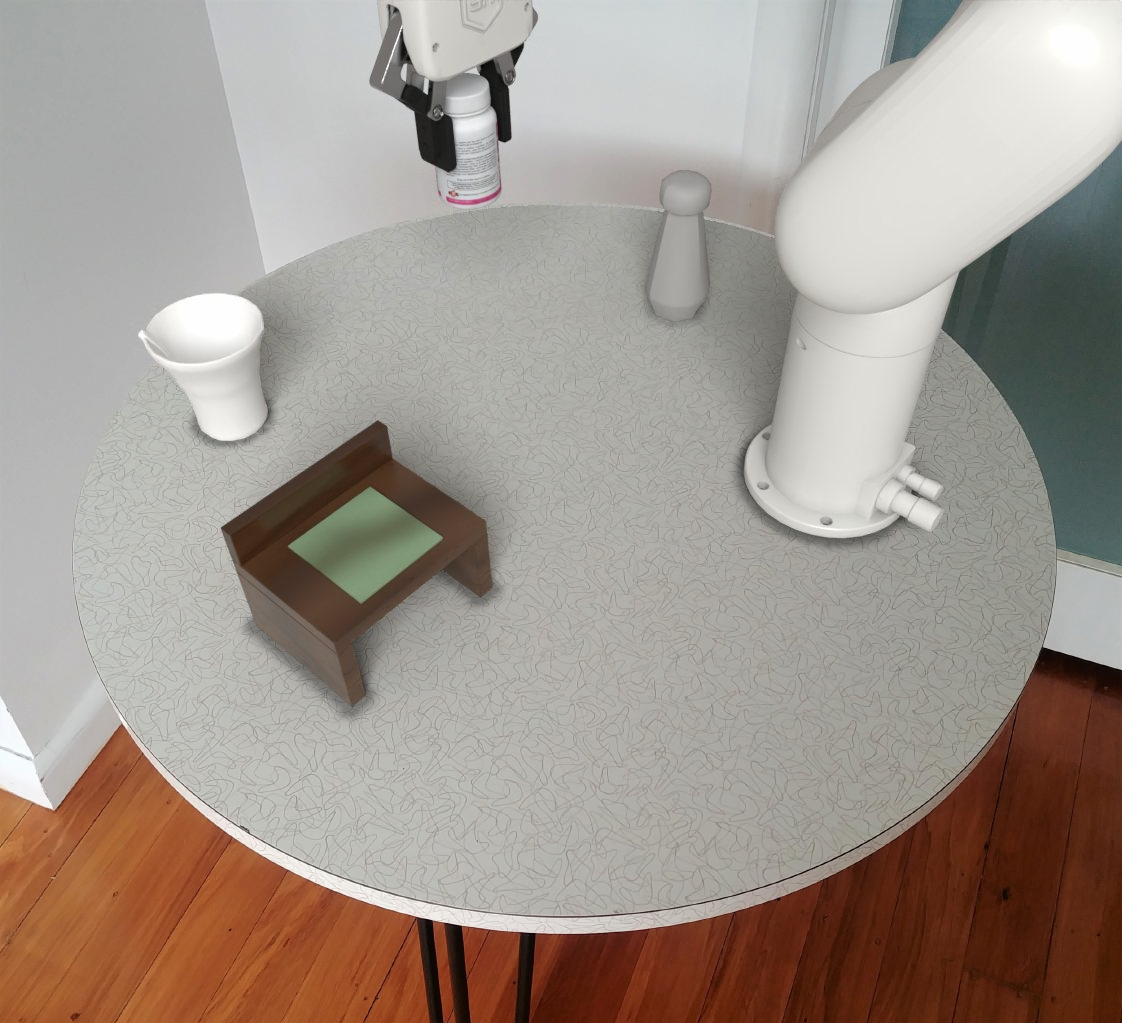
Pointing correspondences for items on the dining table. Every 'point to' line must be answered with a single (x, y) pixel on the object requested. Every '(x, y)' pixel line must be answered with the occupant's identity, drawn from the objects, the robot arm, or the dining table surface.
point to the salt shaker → (680, 248)
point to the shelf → (349, 553)
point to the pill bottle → (471, 145)
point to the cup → (213, 360)
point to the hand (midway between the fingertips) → (466, 147)
